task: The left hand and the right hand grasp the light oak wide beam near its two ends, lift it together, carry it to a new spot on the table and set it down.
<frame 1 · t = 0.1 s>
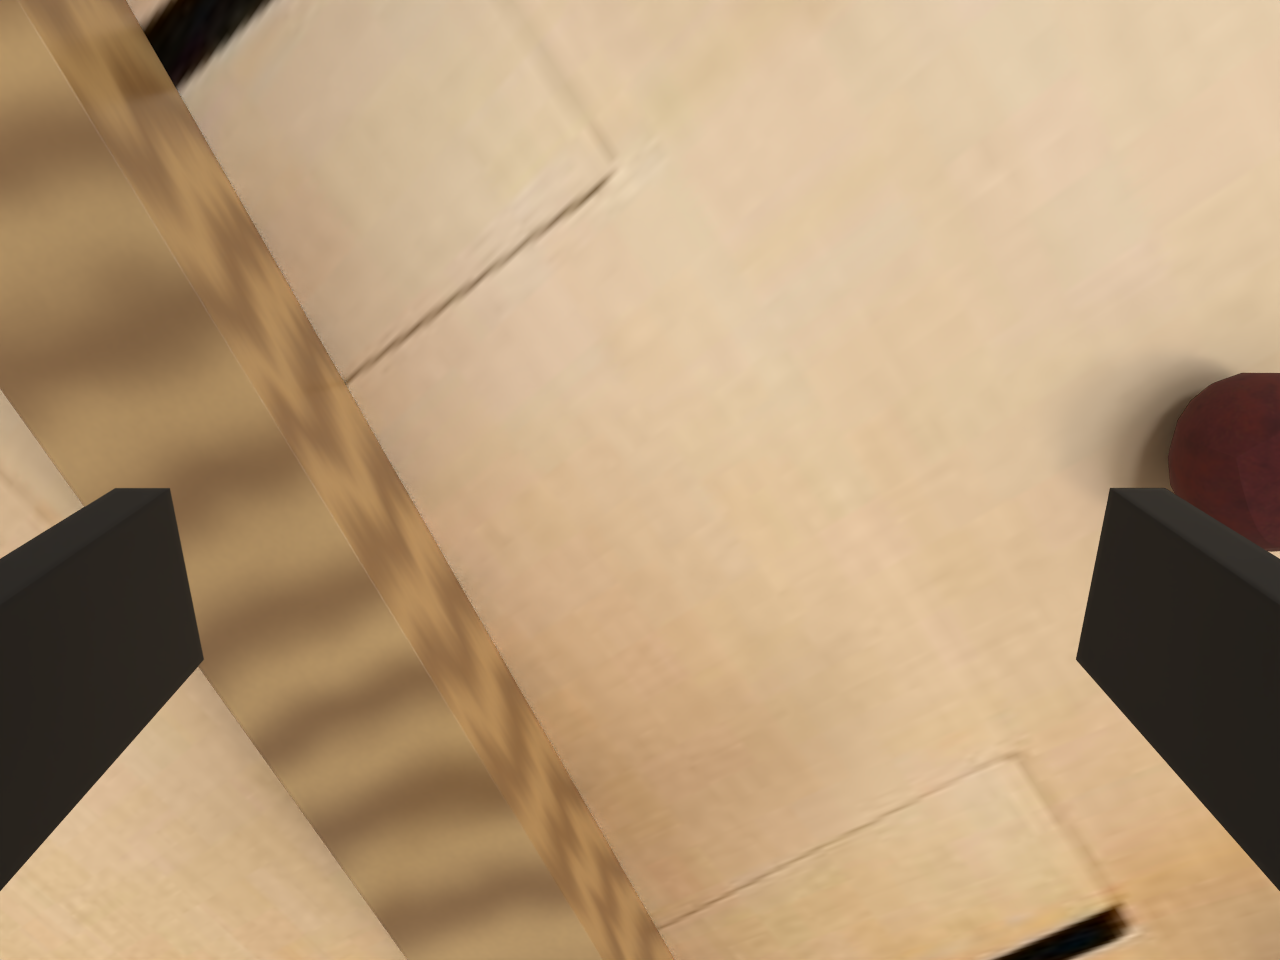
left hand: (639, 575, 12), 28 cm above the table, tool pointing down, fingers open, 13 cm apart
wide beam: (332, 530, 43), on the table
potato: (1212, 433, 41), on the table
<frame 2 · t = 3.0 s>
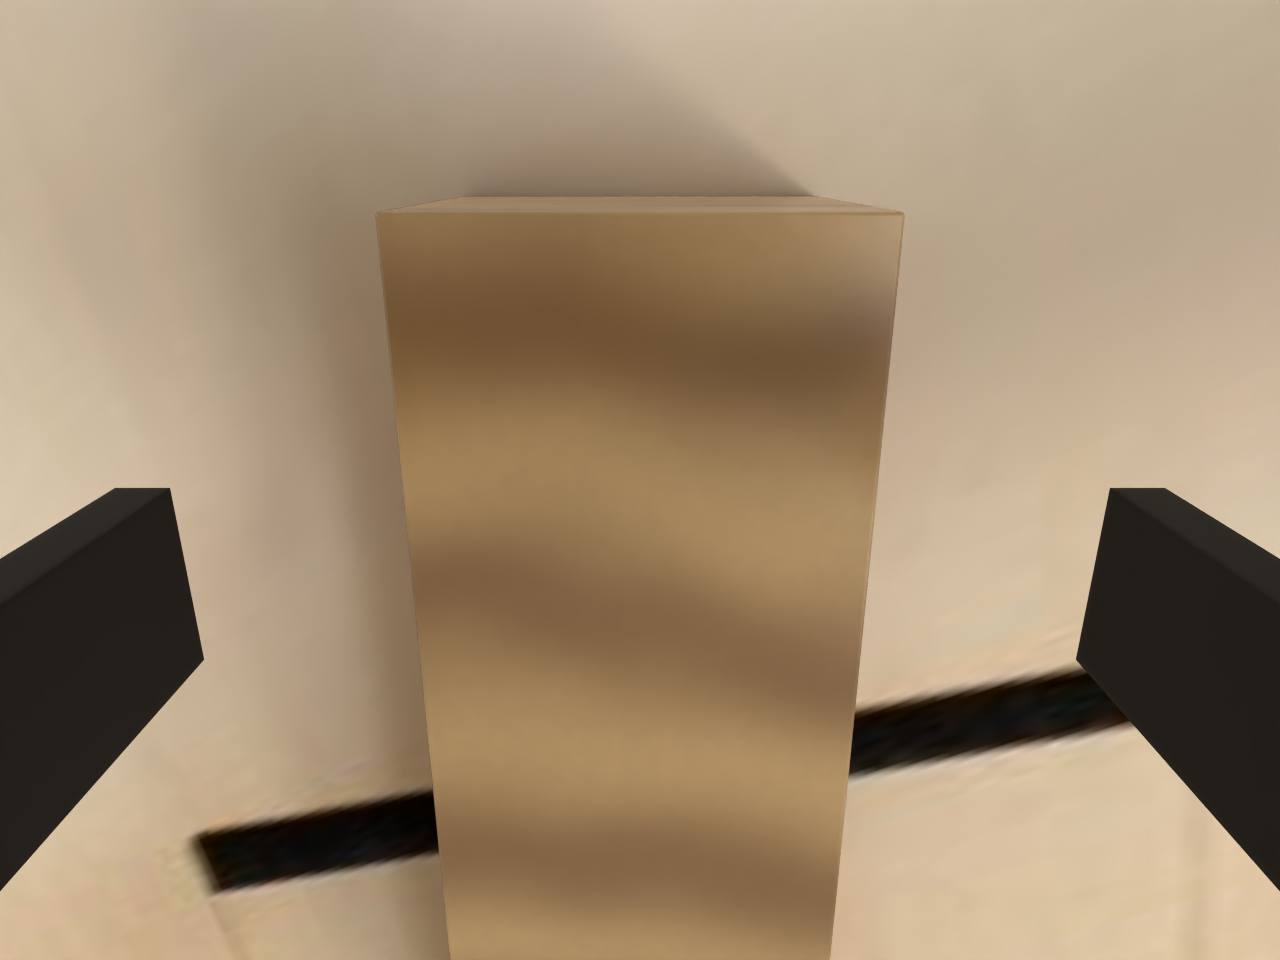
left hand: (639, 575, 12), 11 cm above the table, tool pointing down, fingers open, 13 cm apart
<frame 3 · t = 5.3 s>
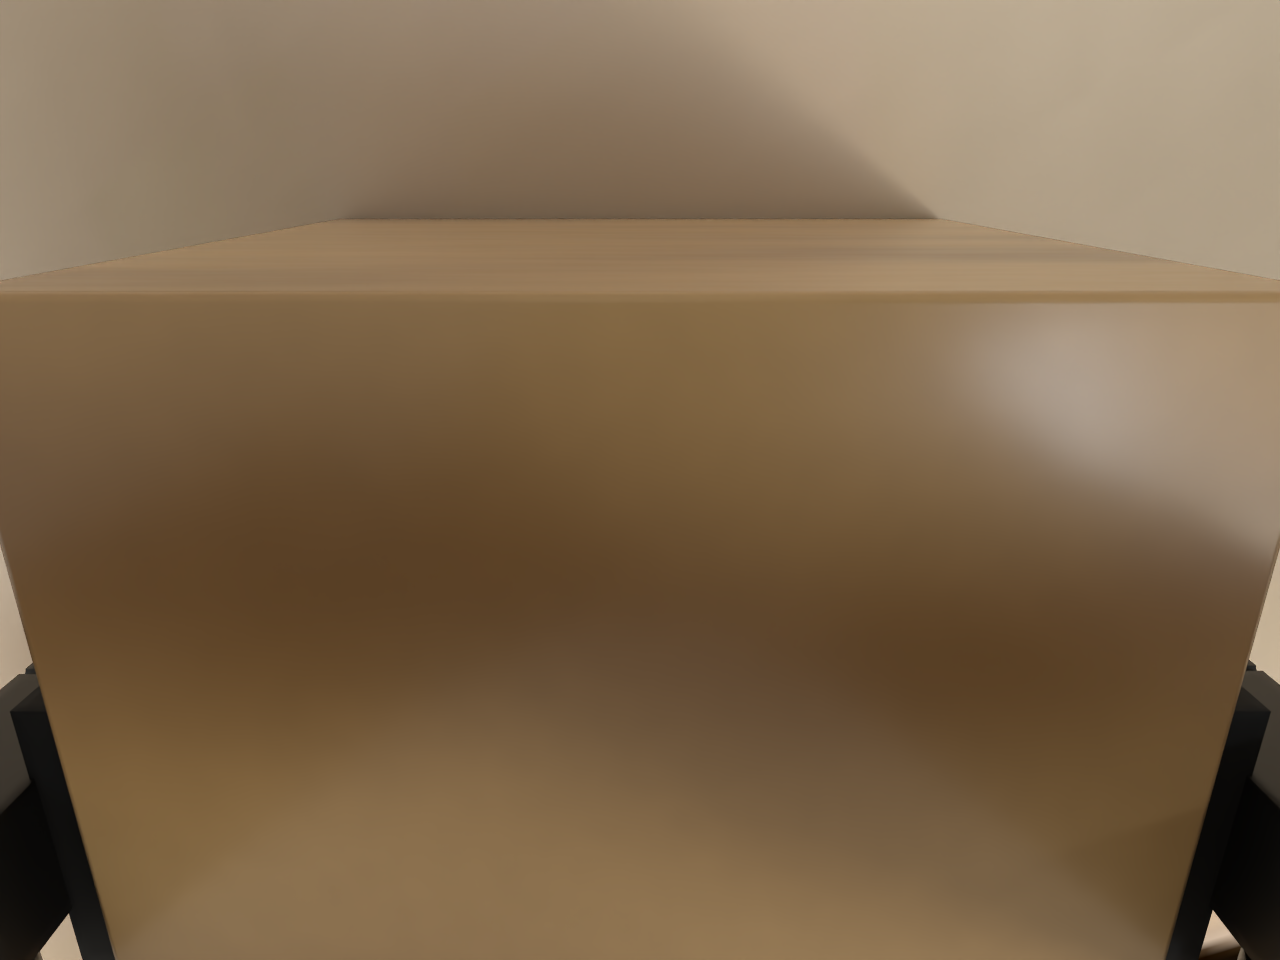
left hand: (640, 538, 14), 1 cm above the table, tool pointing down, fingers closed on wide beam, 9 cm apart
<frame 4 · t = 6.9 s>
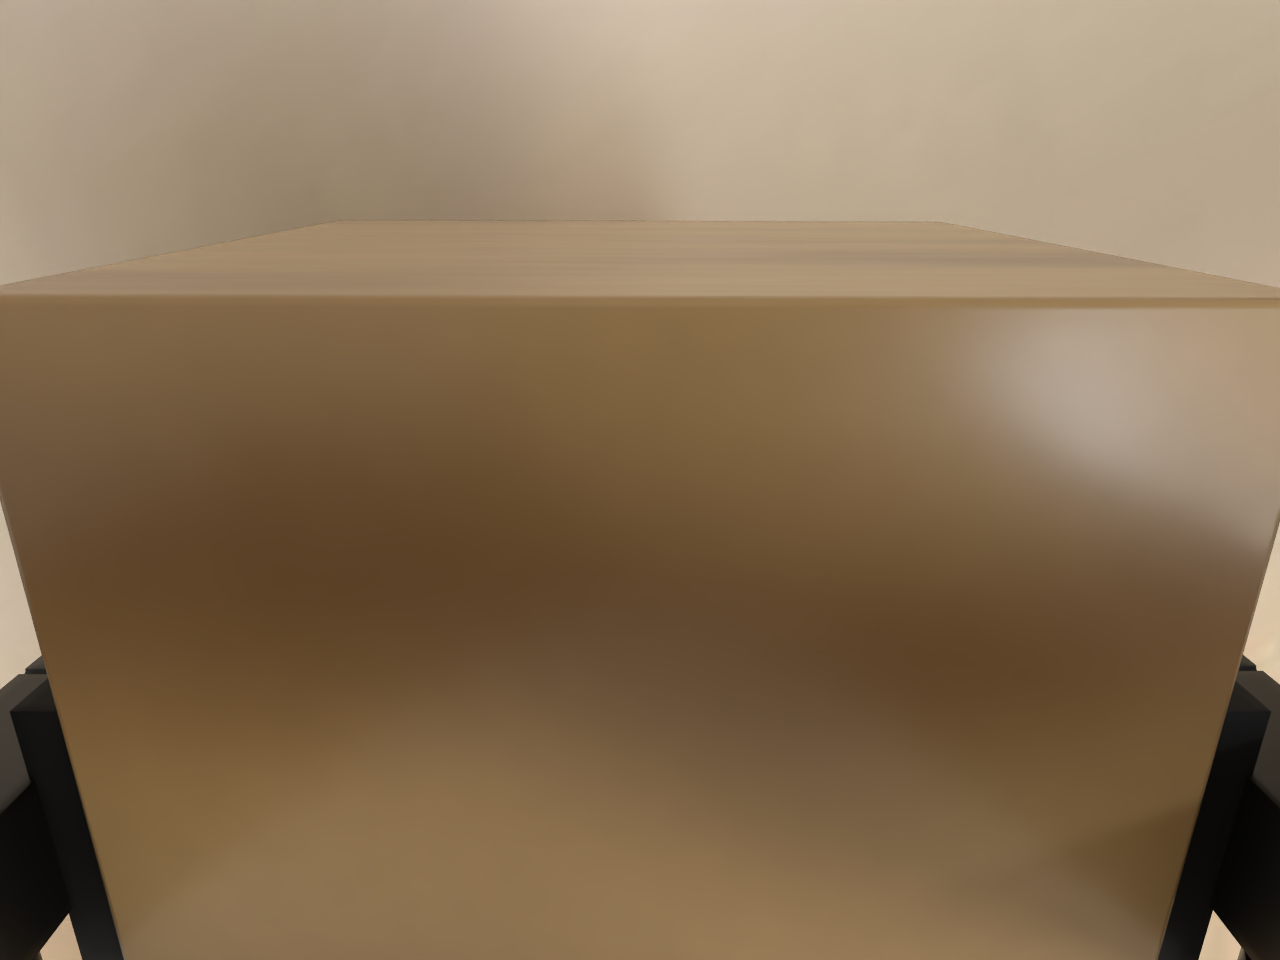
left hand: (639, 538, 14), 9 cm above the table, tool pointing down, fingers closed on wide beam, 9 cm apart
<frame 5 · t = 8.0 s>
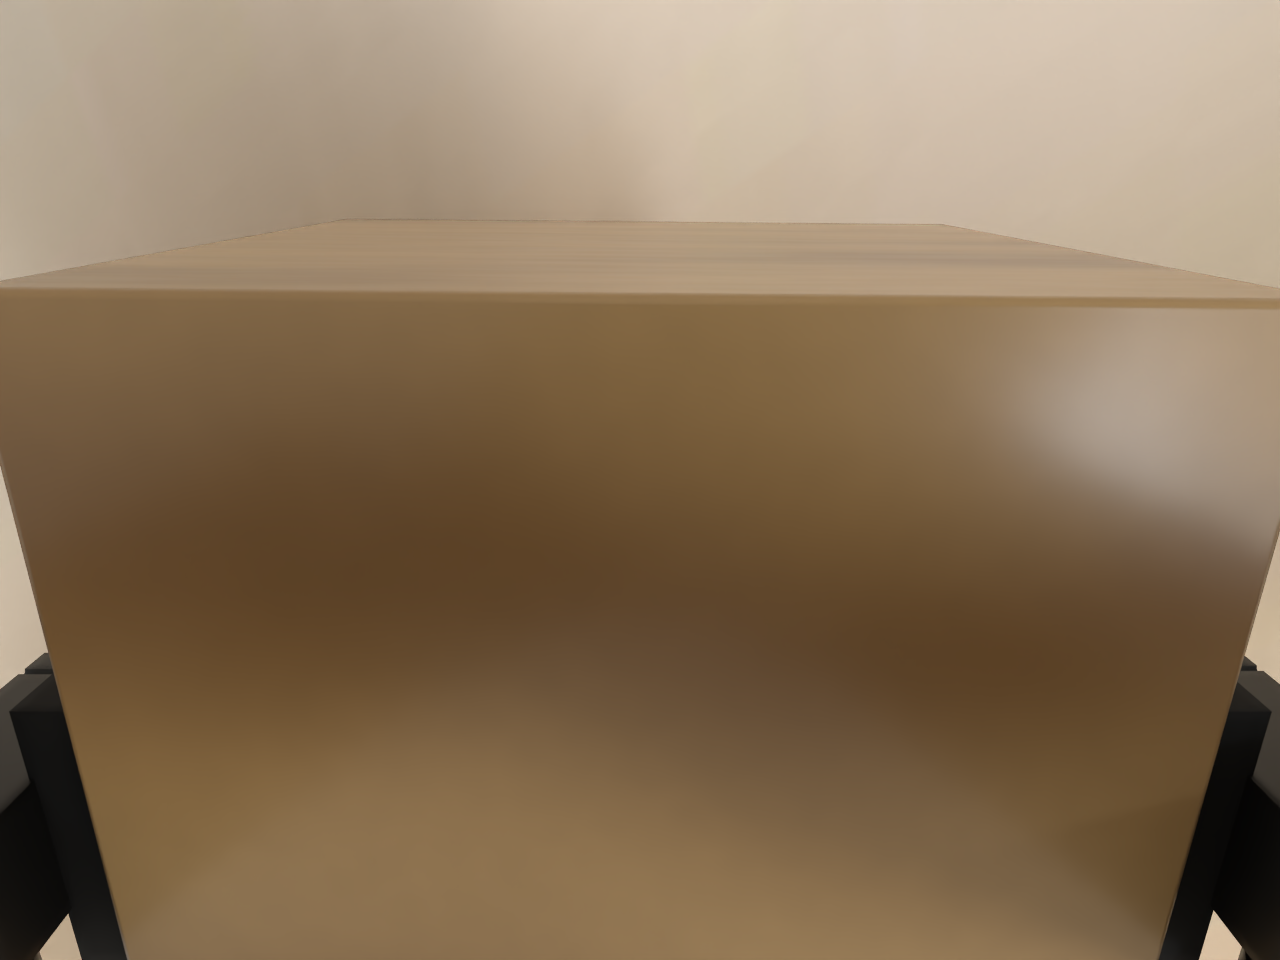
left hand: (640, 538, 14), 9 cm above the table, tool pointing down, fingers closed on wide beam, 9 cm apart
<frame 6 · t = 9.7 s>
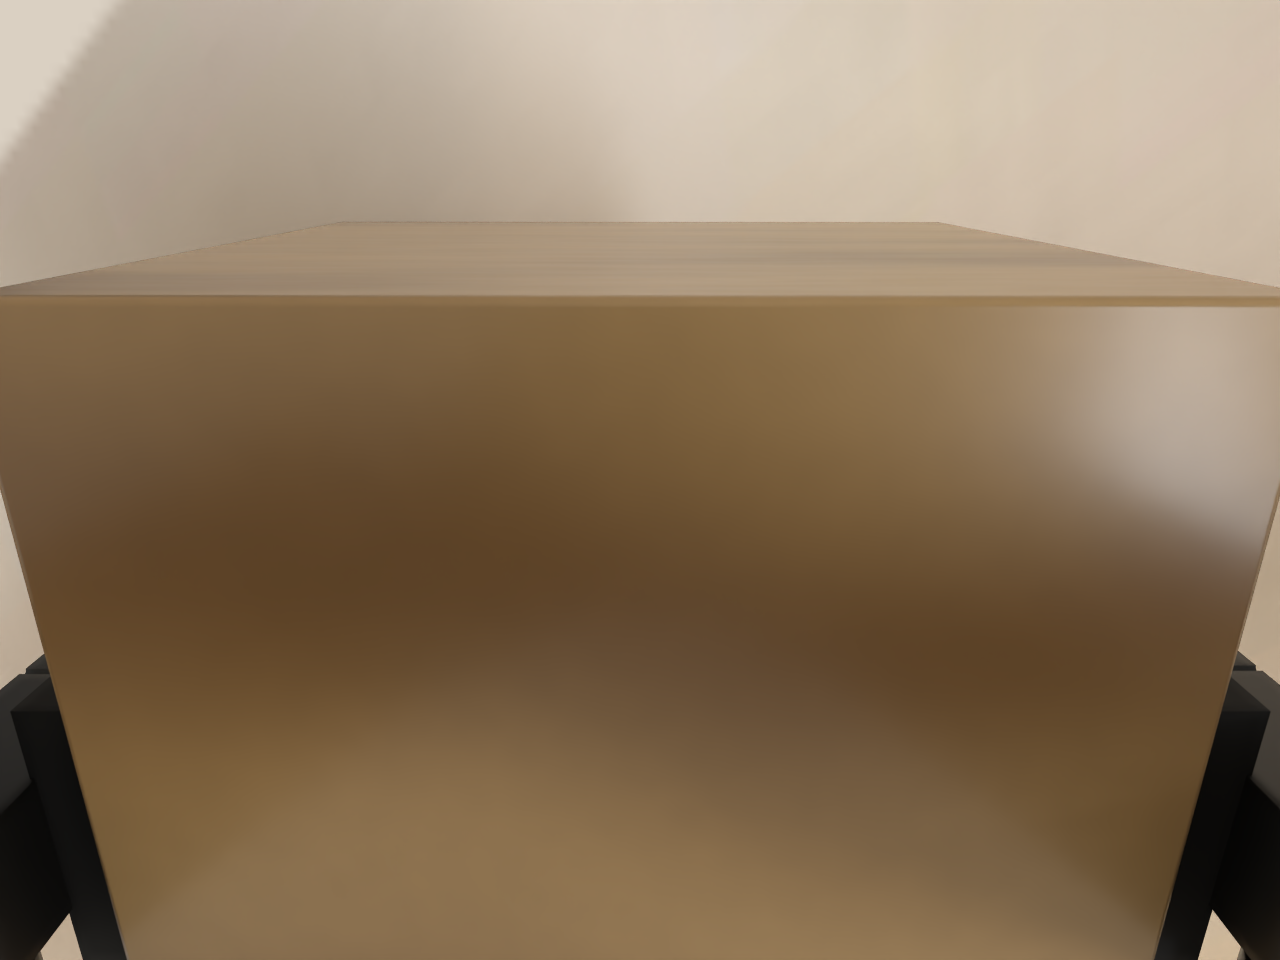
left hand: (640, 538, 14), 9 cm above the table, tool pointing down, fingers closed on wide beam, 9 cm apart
when the left hand's fingers open (2 cm above the table, at t = 11.0 s): wide beam drops 1 cm, on the table.
when the right hand's fingers open (2 cm above the table, at t = 11.0 s): wide beam drops 1 cm, on the table.
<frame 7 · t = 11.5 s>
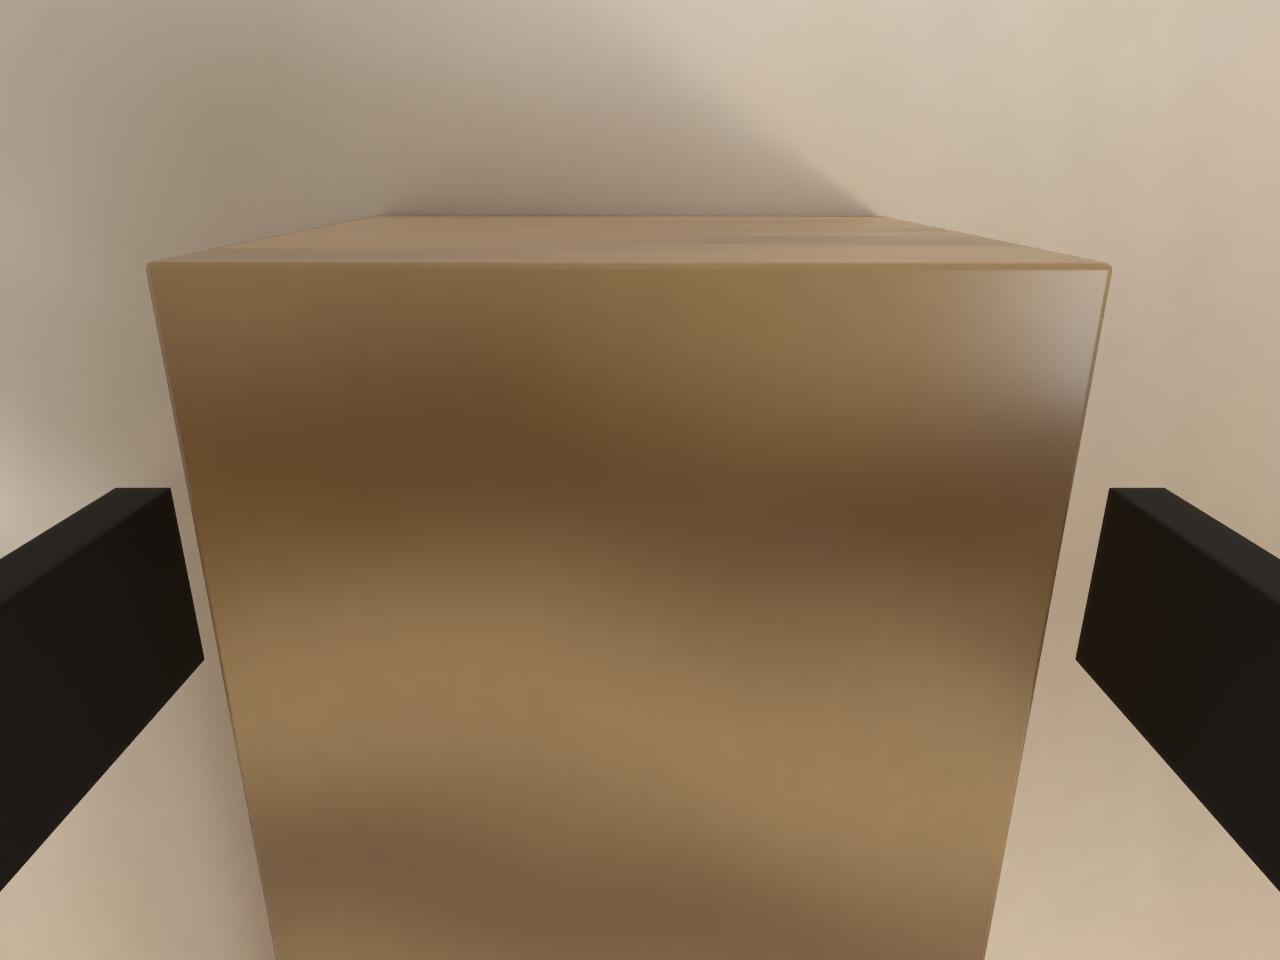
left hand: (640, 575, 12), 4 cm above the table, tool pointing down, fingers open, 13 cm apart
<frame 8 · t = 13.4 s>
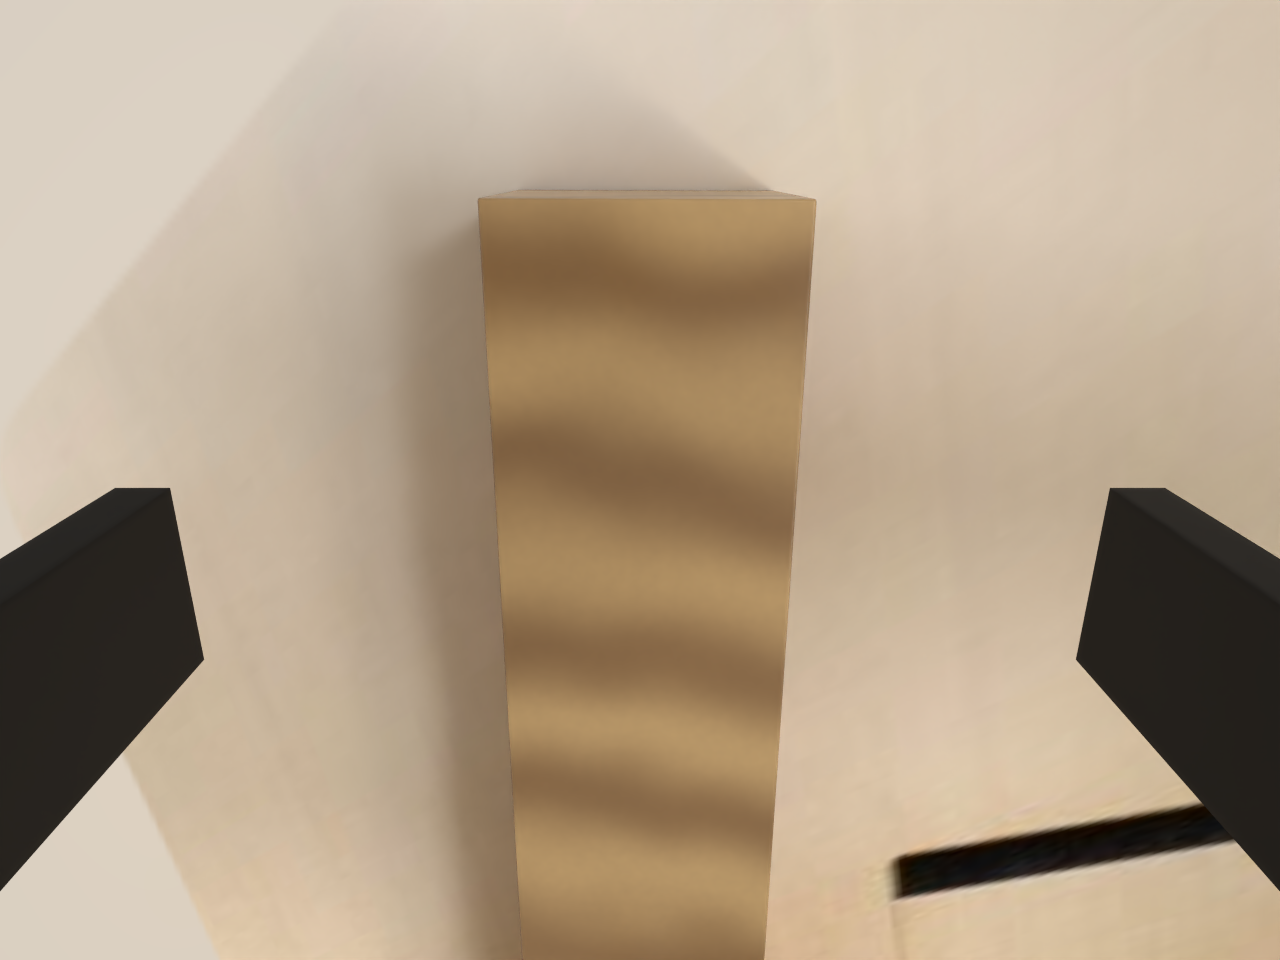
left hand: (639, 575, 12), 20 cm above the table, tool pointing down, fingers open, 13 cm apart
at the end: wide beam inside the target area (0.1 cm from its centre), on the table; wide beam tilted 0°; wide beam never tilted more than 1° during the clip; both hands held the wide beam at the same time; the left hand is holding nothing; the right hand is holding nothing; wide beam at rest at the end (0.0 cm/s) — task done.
